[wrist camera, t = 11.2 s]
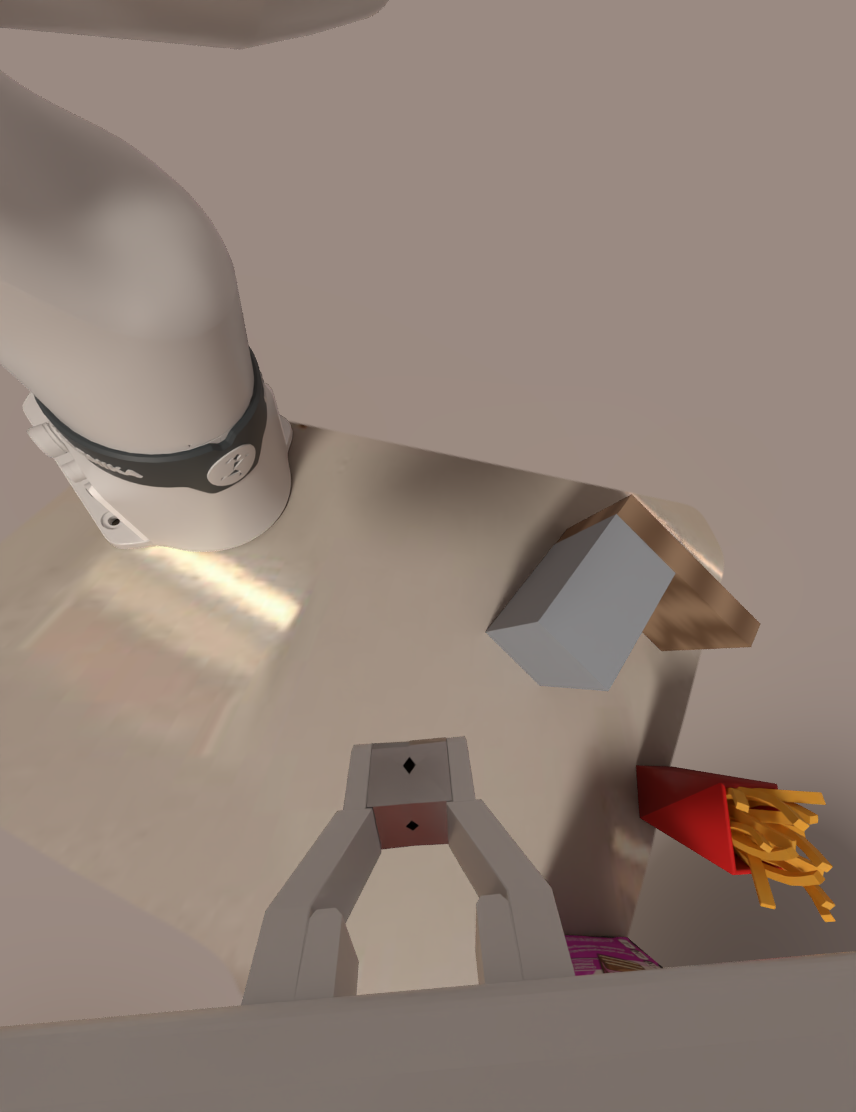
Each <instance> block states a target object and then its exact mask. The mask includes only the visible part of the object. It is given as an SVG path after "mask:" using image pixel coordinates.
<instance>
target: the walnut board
mask: <svg viewBox="0 0 856 1112" xmlns="http://www.w3.org/2000/svg"><path fill="white" fill-rule="evenodd" d="M615 514H617V515H618V516H619V517H620V518H621V519H622V520H623V521H624V522H625V523H626V524H627V525H628V526H629V527H630V528H631V529H632V530H633V531H634V532H635V533H636V534H637V535H638V536H639V537H640V538H641V539H642V540H643V541H644V542H645V543H646V544H647V545H648V546H649V547H650V548H651V549H652V550H653V551H654V552H655V553H656V554H657V555H658V556H659V557H660V558H661V559H662V560H663V561H664V562H665V563H666V564H667V565H668V566H669V567H670V568H671V569H672V570H673V571H674V572H675V575H674V577H673V578H672V580H671V582H670V584H669V585H668V587H667V589H666V591H665V593H664V594H663V596H662V598H661V600H660V601H659V603H658V605H657V607H656V608H655V610H654V612H653V614H652V615H651V617H650V619H649V621H648V622H647V624H646V626H645V628H644V629H643V631H642V632H643V633H644V634H645V635H646V636H647V637H648V638H649V639H650V640H651V641H652V642H653V643H654V644H655V645H656V646H657V647H658V648H659V649H660V650H661V651H673V650H695V649H717V648H740V647H751V645H752V643H753V641H754V638H755V636H756V633H757V631H758V628H759V626H760V623H759V622H758V621H757V620H756V619H755V618H754V617H753V616H752V615H751V614H750V613H749V612H748V611H747V610H746V609H745V608H744V607H743V606H742V605H741V604H740V603H739V602H738V601H737V600H736V599H735V598H734V597H733V596H732V595H731V594H730V593H729V592H728V591H727V590H726V589H725V588H724V587H723V586H722V585H721V584H720V583H719V582H718V581H717V580H716V579H715V578H714V577H713V576H712V575H711V574H710V573H709V572H708V571H707V570H706V569H705V568H704V567H703V566H702V565H701V564H700V563H699V562H698V561H697V560H696V559H695V558H694V557H693V556H692V555H691V554H690V553H689V552H688V551H687V550H686V549H685V548H684V547H683V546H682V545H681V544H680V543H679V542H678V541H677V540H676V539H675V538H674V537H673V536H672V535H671V534H670V533H669V532H668V531H667V529H666V528H665V527H664V526H663V525H662V524H661V523H660V522H659V521H658V520H657V519H656V518H655V517H654V516H653V515H652V514H651V513H650V512H649V511H648V510H647V509H646V508H645V507H644V506H643V505H642V504H641V503H640V502H639V501H638V500H637V499H636V498H635V497H634V496H633V495H630V496H628V497H626V498H624V499H622V500H620V501H619V502H617V503H615V504H613V505H611V506H609V507H607V508H605V509H604V510H602V511H600V512H598V513H596V514H594V515H592V516H590V517H589V518H587V519H585V520H583V521H581V522H579V523H577V524H575V525H574V526H572V527H570V528H568V529H567V530H566V531H565V533H564V534H563V535H562V536H561V538H560V539H559V540H558V541H557V543H558V542H560V541H562V540H564V539H566V538H568V537H571V536H573V535H575V534H577V533H579V532H581V531H583V530H585V529H587V528H589V527H591V526H593V525H595V524H597V523H599V522H601V521H603V520H605V519H607V518H609V517H611V516H613V515H615Z"/></svg>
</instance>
